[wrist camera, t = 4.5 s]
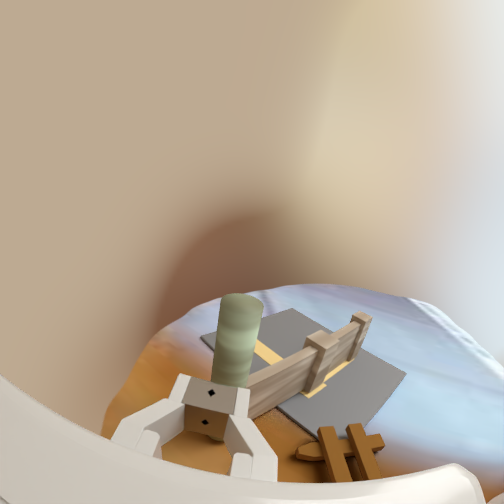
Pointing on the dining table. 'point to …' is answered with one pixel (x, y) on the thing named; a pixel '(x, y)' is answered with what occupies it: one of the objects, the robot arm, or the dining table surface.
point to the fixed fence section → (350, 339)
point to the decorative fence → (344, 452)
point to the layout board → (335, 383)
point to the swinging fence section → (274, 376)
